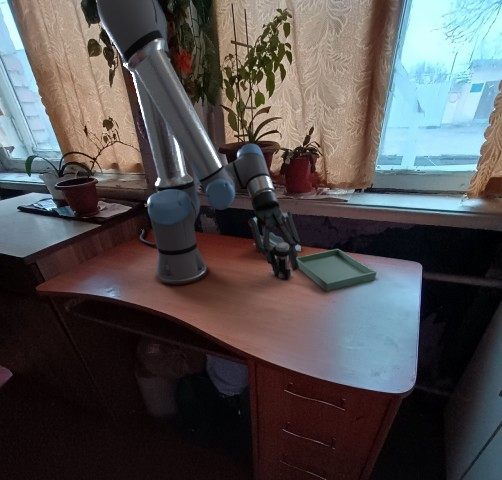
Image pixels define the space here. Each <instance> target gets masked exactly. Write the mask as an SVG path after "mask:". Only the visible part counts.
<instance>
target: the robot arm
mask: <svg viewBox="0 0 502 480" xmlns="http://www.w3.org/2000/svg"><path fill="white" fill-rule="evenodd" d="M96 8H97V12H98V16H99V17H98V18H99V19H100V22H101V24H102V26H103V28H104V30H105V32H106V33H107V35H108V37H109V39H110V40H111V42H112V43H113V45H114V46H115V48H116V50H117V51H118V53H119V54H120V57H121V60H122V64H123V66H124V67H125V68H126V69H127V70H128V71H129V72H130V74H132V75H131V76H132V78H133V83H134V87H135V90H136V94H137V98H138V103H139V106H140V110H141V115H142V118H143V122H144V125H145V130H146V134H147V138H148V142H149V146H150V150H151V153H152V159H153V161H154V166H155V170H156V174H157V180H156V181H155V184H154V186H155V190H156V192H155V193H153V194H151V195H150V196H149V197H148V199H147V202H146V203H147V213H148V217H149V219H150V223H151V227H152V231H153V236H154V240H155V243H153V242H150V241H148V240H145V239H144V238H143V237H144V236H145V234H146V231H145V229H143V230H142V229H141V231H142V233H141V234H140V236H139V240H140V241H141V242H142V243H144V244H146V245H149V246H152V247H156V248H157V252H158V253H157V254H158V255H157V263H156V264H157V265H156V275H157V279H158V281H160V282H161V283H163V284H166V285H170V286H171V285H172V286H180V285H187V284H192V283H195V282H197V281H199V280H201V279H203V278H204V277H205V276H206V275H207V272H208V269H207V264H206V261H205V260H204V258H203V255H202V254H201V252H200V250H199V248H198V242H197V235H196V230H195V222H196V220H197V218H198V217H199V214H200V210H201V200H200V197H199V195H198V193H197V191H196V187H195V181H194V178H193V176H191V175H190V174H188V172H187V166H186V163H185V158H186V160H187V162H188V164H189V165H190V168H191V169H192V171H193V173H194V174H195V176H196V178H197V180H198V182H199V183H200V185H201V187H202V189H203V190H204V194H205V199H206V201H207V203H208V205H209V206H210V207H211V208H213V209H215V210H218V211H219V210H220V211H223V210H226V209H228V208H230V207H231V205H232V204H233V202H234V201H235V198H236V191H238V190H240V189H243V188H246V190H247V194H248V196H249V200H250V202H251V207H252V209H253V212H254V217H250V218H249V219H248V221H247V225H248V227H249V228H250V230H251V234H252V238H253V242H254V243H255V245H256V246H255V249H256V251H257V253H258V254H263V256H265V259H266V262H267V264H269V265H271V269H273V271H272V273H273V272H274V274H273V275H274V276H275V275H277V274H278V273H279V272H280V270H279V267H278V264H277V261H276V258H275V255H274V251H273V250H270V237H269V233H270V229H271V228H273V229H274V230H275V231H277V232H278V234H279V236H280V237H282V239H283V240H284V242H285V243H288V244H289V246H291V247H292V250H291V254H290V255H289V262H290V266H291V270H292V271H293V272H295V271H297V270H298V269H299V266H298V263H297V260H296V258H297V257H299V256H298V255H299V254H298V251H296V248H295V246H296V245H297V244H298V245H299V243H300V241H301V240H300V237H299V235H298V232H297V229H296V226H295V224H294V221H293V212H292V211H289V210H288V212H284V211H283V210H282V209H281V207H280V203H279V200H278V196H277V194H276V190H275V187H274V184H273V181H272V178H271V176H270V172H269V169H268V166H267V162H266V158H265V156H264V154H263V152H262V149H261V147H260V146H259V145H258V144H256V143H247V144H244V145H242V146H241V148H239V149H238V151H237V153H236V159H235V160H234V161H232V162H229V163H227V164H225V165H224V164H223V162H222V160H221V158H220V156H219V155H218V152H217V150H216V148H215V146H214V145H213V142H212V141H211V138H210V137H209V134H208V133H207V130H206V129H205V127H204V125H203V123H202V121H201V119H200V117H199V115H198V114H197V112H196V110H195V108H194V106H193V104H192V102H191V100H190V98H189V96H188V94H187V92H186V91H185V88H184V86H183V84H182V83H181V81H180V78H179V77H178V75H177V72H176V71H175V69H174V67H173V65H172V63H171V55H170V51H169V46H168V23H167V20H166V19H167V18H166V16H165V15H166V14H165V13H164V11H163V8H162V6H161V4H160V3H159V1H158V0H96ZM282 218H283V220H282ZM284 222H285V225H284ZM258 224H259V225H260V226H261V230H262V231H261V232H262V237H263V244H262V241H261V237H260V236H261V233H260V229H259V226H258Z"/></svg>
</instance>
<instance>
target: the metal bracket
mask: <svg viewBox="0 0 502 480" xmlns="http://www.w3.org/2000/svg"><path fill="white" fill-rule="evenodd" d="M260 237H261V241H262V244H263V235H260ZM269 237H270V250H273V248H274V247H275V246H276V244H278V243H281V242H284V240H283V239H282V237H281V236H278V235H276V234H274V233H273V232H271V231H269ZM252 246H254V247H256V245H255V242H254V243H253V244H252ZM295 248H296V251H297V252H299V253H300V252H302V246H301V245H300V244H299V243H298V244H297V245H296V246H295ZM274 255H275V254H274ZM275 258H276V255H275ZM276 261H277V258H276Z"/></svg>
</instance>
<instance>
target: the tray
mask: <svg viewBox="0 0 502 480" xmlns="http://www.w3.org/2000/svg"><path fill="white" fill-rule="evenodd" d="M296 260H297V263H298V266H299V268H298V269H299V270H300V271H301V272H302V273H304V274H305V275H306V276H307V277H309V278H310V279H311V280H313V282H314V283H316V284H317V285H318V286H320V287H321V288H322V289H323V290H324V291H325V292H329V291H333V290H336V289H341V288H345V287H349V286H354V285H357V284H358V285H359V284H362V283H365V282H369V281H373V280H376V275H377V271H376V270H374V269H372V268H371V267H369V266H368V265H366V264H365V263H362V262H361V261H359V260H357V259H356V258H354V257H352V256H351V255H349V254H348V253H346V252H344V251H343V250H341V249H339V248H335V249H330V250H325V251H319V252H316V253H311V254H306V255H301V256H297V258H296Z"/></svg>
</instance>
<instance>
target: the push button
mask: <svg viewBox="0 0 502 480" xmlns="http://www.w3.org/2000/svg"><path fill="white" fill-rule="evenodd" d="M291 250H292V247H291V246H289V244H288V243H285V242H281V243H278V244H276V246H275V247H274V248H273V251H274V254H275V255H276V258H277V264H278V267H279V270H280V272H279V273H278V274H277V275H274V272H273V269H272V268H271V269H270V271H271V272H270V274H271V275H274V277H277V278H279V279H284V280H286V281H288V280H289V279H290V278H291V277H292V268H290V267H289V264H290V263H289V262H290V259H289V255H290V254H291Z"/></svg>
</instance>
